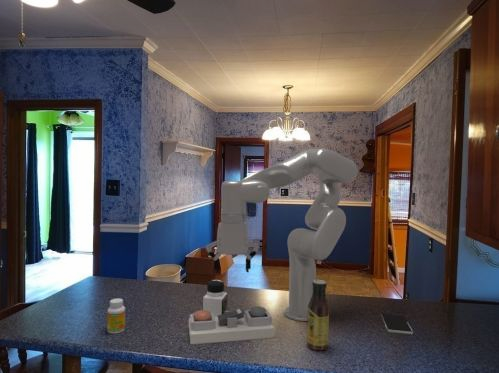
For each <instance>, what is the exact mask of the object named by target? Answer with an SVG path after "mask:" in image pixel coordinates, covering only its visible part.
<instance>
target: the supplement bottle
mask: <svg viewBox="0 0 499 373" xmlns="http://www.w3.org/2000/svg"><path fill="white" fill-rule="evenodd" d="M106 315H107V320H106V321H107V322H106V324H107V325H106V326H107V327H106V331H107V333H109V334H113V335H114V334H119V333H122V332H124V331H125V329H126V307H125V306H124V299H123V298H112V299H111V300H110V301H109V307H108V308H107V313H106Z"/></svg>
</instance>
